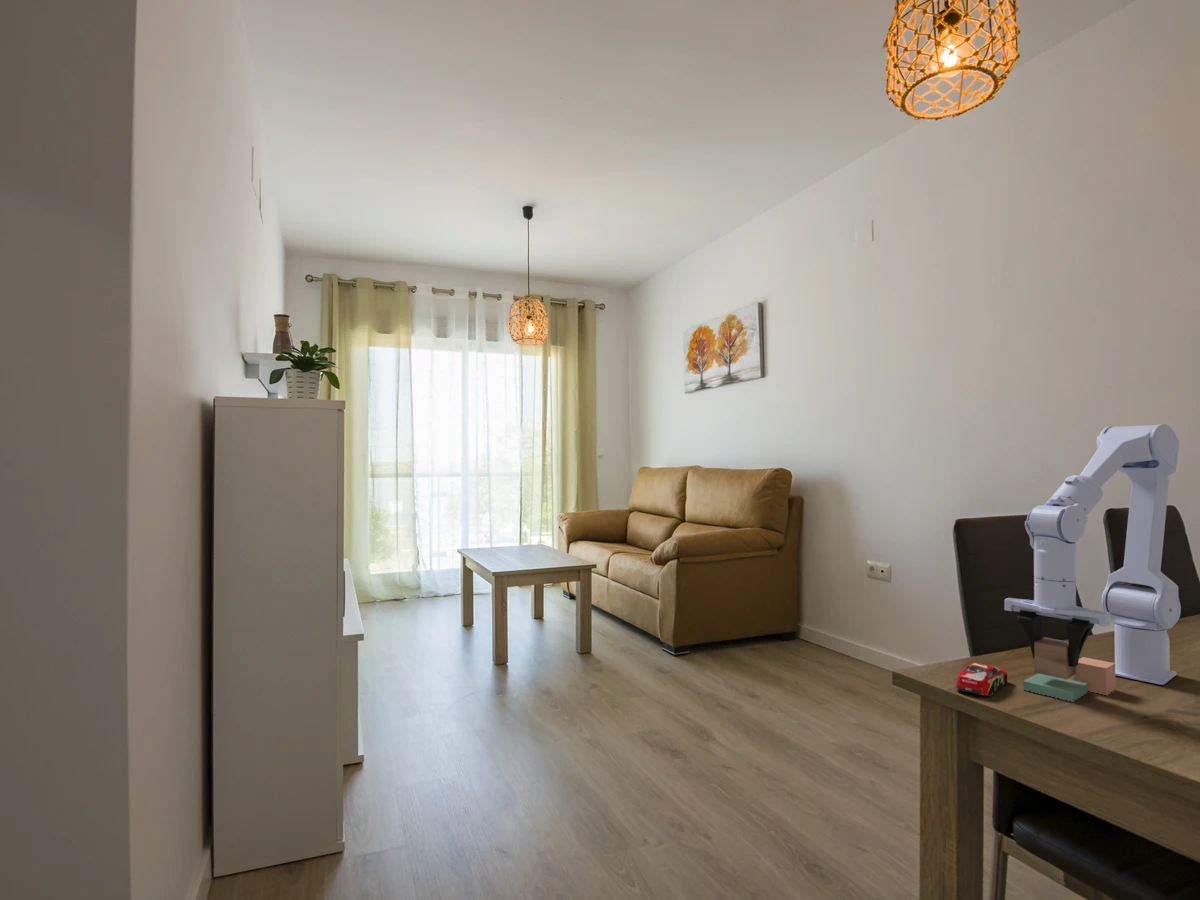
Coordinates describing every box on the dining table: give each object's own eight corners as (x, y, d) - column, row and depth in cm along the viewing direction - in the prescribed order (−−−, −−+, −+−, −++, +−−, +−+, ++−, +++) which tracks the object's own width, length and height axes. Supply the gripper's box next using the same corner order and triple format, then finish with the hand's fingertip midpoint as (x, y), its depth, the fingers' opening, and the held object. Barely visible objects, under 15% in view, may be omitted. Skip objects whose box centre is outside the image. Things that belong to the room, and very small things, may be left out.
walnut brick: (1044, 667, 115) (1044, 637, 115) (1075, 673, 111) (1075, 643, 111) (1034, 672, 112) (1034, 642, 112) (1066, 679, 108) (1066, 648, 108)
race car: (977, 675, 120) (977, 653, 120) (1011, 683, 116) (1011, 659, 117) (949, 692, 111) (949, 668, 111) (986, 701, 107) (986, 676, 107)
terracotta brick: (1083, 683, 116) (1083, 657, 116) (1115, 690, 112) (1115, 663, 112) (1073, 689, 113) (1073, 661, 113) (1106, 696, 109) (1106, 668, 109)
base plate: (1039, 681, 116) (1039, 672, 116) (1087, 692, 111) (1087, 683, 111) (1023, 690, 112) (1023, 681, 112) (1073, 702, 106) (1072, 692, 106)
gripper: (996, 575, 115) (997, 655, 115) (1099, 588, 103) (1100, 677, 103) (1013, 571, 119) (1013, 648, 119) (1114, 583, 108) (1114, 668, 108)
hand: (1055, 661), depth 111 cm, fingers closed on walnut brick, 4 cm apart
